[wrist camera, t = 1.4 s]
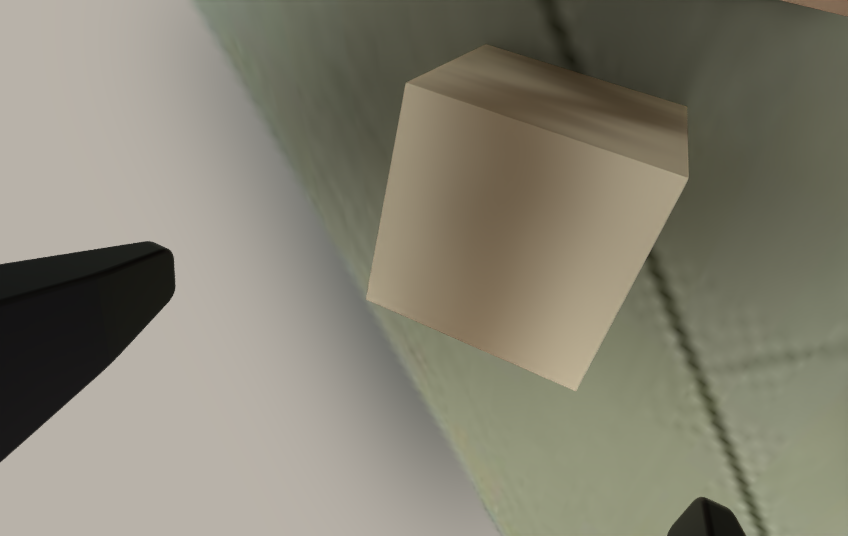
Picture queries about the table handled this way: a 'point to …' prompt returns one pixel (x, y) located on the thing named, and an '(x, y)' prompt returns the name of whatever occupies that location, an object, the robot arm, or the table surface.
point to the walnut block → (825, 5)
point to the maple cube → (524, 206)
